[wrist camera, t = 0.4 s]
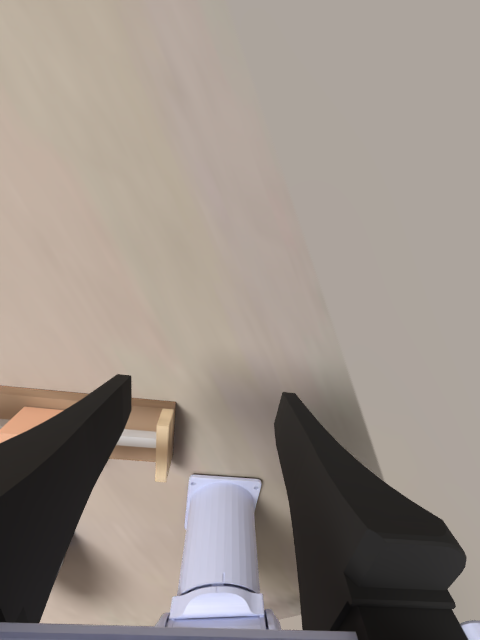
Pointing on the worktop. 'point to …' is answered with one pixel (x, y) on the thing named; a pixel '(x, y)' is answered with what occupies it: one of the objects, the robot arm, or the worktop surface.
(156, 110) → the worktop surface
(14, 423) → the block
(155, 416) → the rail board
